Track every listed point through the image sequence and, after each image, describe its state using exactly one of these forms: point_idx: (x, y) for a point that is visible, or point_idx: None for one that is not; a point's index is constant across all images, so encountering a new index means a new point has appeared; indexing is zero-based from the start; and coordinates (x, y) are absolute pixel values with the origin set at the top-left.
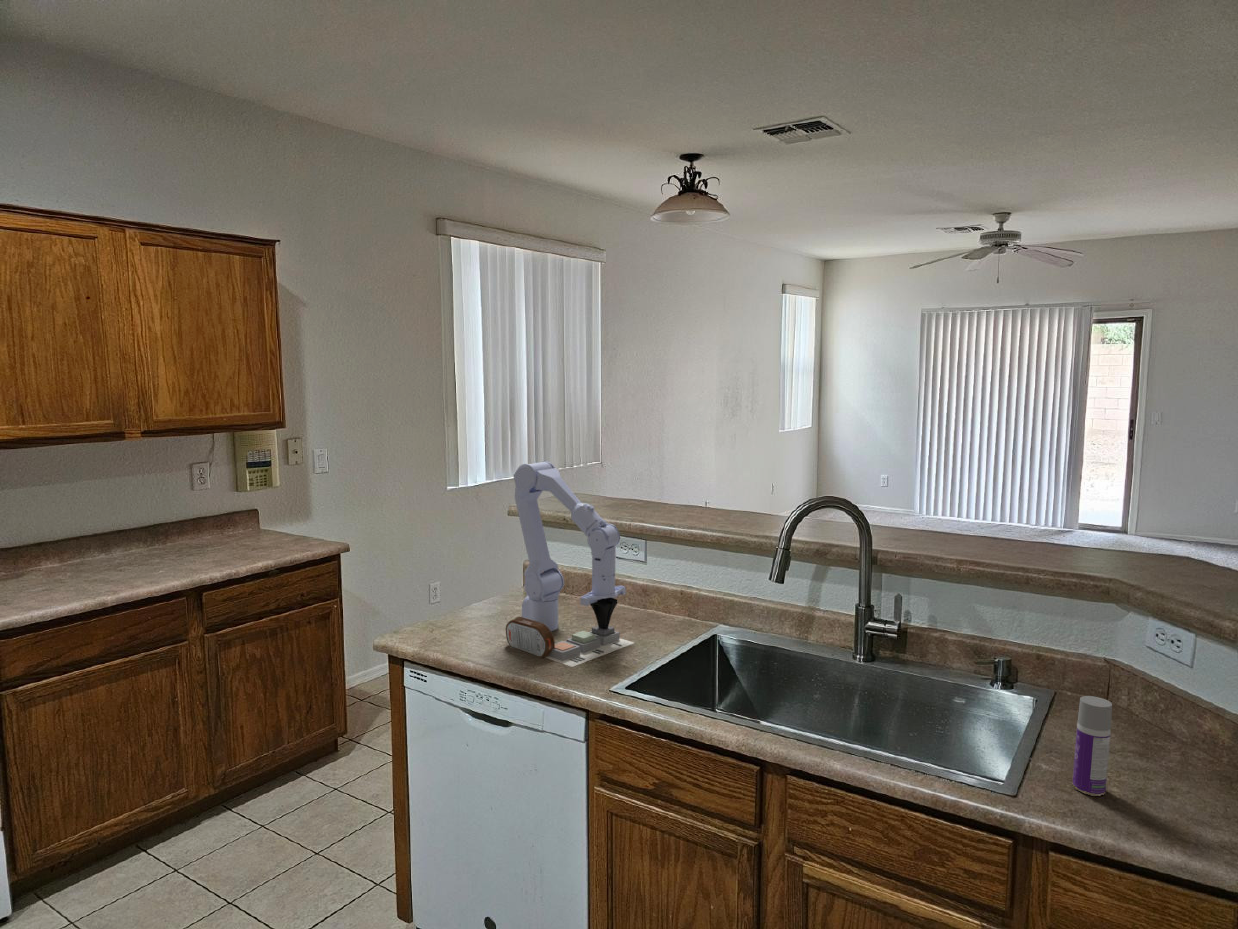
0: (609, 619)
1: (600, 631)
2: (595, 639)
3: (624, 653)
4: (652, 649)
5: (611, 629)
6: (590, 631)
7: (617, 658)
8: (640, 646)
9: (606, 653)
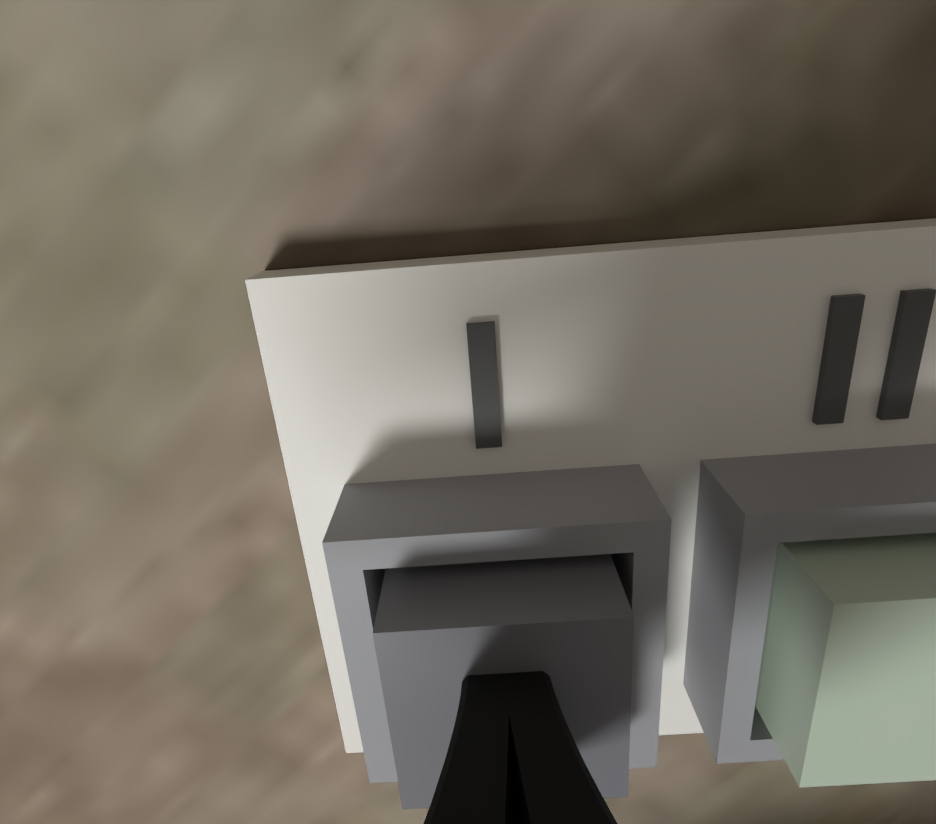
0: (462, 796)
1: (627, 659)
2: (771, 560)
3: (536, 186)
4: (112, 12)
5: (447, 619)
6: None
7: (748, 107)
8: (188, 233)
9: (849, 239)
